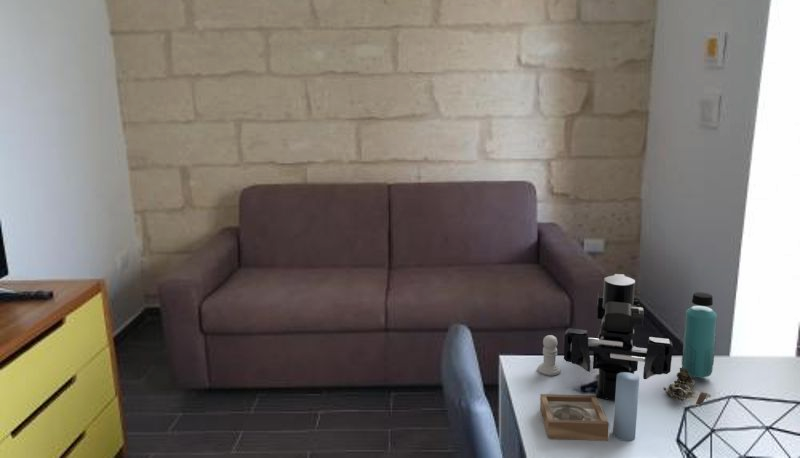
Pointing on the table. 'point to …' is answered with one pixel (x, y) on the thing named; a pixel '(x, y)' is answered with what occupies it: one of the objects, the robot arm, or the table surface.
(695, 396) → the crumpled brown clump
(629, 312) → the robot arm
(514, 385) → the table surface
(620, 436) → the peg
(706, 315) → the beverage bottle
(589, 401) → the walnut box
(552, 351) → the chess piece
